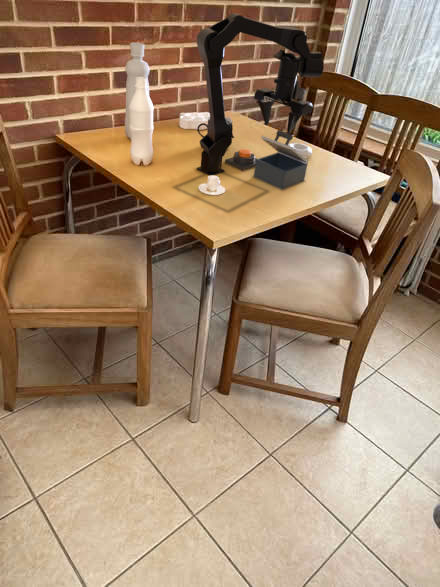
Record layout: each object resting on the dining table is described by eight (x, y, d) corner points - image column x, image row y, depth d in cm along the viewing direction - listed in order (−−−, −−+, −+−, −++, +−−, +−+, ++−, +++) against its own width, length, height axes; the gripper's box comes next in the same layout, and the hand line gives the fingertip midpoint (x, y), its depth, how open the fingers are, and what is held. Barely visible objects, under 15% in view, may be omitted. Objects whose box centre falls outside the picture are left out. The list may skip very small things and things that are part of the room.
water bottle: (149, 168, 141) (149, 82, 126) (127, 164, 142) (124, 78, 127) (156, 160, 147) (157, 77, 132) (135, 156, 148) (133, 73, 133)
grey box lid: (291, 150, 132) (298, 135, 131) (260, 138, 138) (267, 124, 137) (307, 163, 142) (314, 150, 141) (278, 151, 148) (284, 139, 147)
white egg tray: (212, 118, 190) (227, 129, 180) (171, 119, 183) (185, 131, 172) (213, 109, 188) (228, 121, 177) (172, 111, 181) (185, 122, 170)
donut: (289, 148, 169) (279, 155, 162) (290, 139, 167) (281, 146, 160) (314, 155, 166) (305, 163, 159) (316, 146, 164) (307, 153, 157)
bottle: (120, 135, 162) (117, 41, 144) (144, 133, 167) (144, 41, 149) (131, 144, 157) (130, 46, 139) (155, 141, 161) (156, 46, 143)
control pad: (242, 170, 148) (244, 162, 146) (224, 162, 152) (225, 154, 150) (261, 164, 154) (263, 155, 152) (244, 156, 158) (245, 148, 156)
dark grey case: (282, 190, 139) (286, 171, 135) (253, 177, 144) (256, 159, 141) (303, 181, 146) (307, 163, 142) (275, 169, 152) (278, 152, 148)
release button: (245, 159, 149) (245, 154, 148) (236, 155, 151) (236, 150, 150) (252, 156, 151) (253, 152, 150) (243, 153, 153) (244, 148, 152)
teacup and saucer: (211, 181, 139) (212, 169, 136) (232, 190, 135) (233, 177, 133) (192, 189, 133) (193, 176, 130) (213, 199, 129) (215, 185, 127)
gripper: (328, 81, 135) (315, 134, 145) (279, 67, 145) (270, 117, 154) (306, 85, 128) (295, 139, 138) (256, 69, 138) (249, 122, 147)
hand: (277, 129), depth 144 cm, fingers open, 9 cm apart
